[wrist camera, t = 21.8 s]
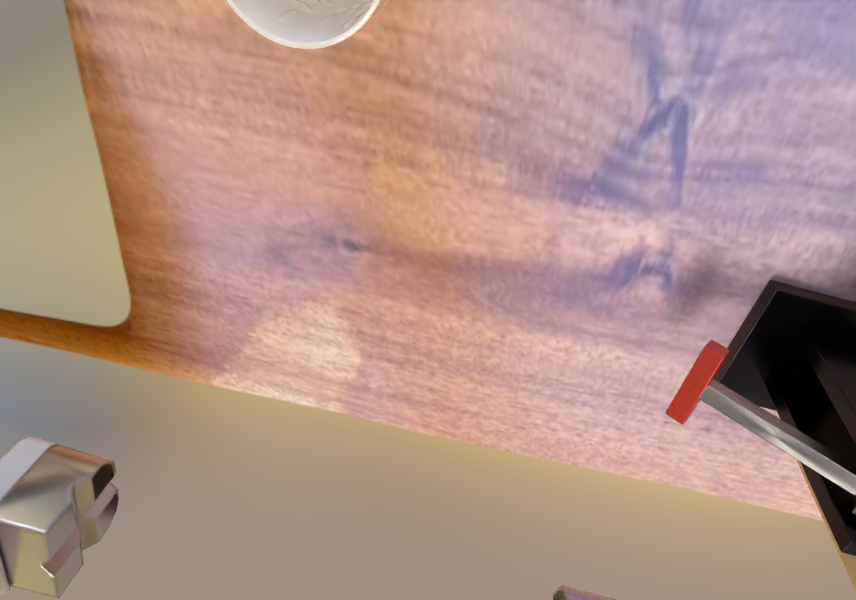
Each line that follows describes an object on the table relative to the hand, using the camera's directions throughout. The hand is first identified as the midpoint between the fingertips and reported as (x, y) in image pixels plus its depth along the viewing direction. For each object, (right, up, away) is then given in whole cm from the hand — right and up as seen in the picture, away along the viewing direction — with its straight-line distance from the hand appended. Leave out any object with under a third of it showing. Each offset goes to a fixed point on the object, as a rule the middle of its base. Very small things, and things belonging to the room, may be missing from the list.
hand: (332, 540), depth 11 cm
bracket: (+28, +1, +32) cm, 42 cm away
